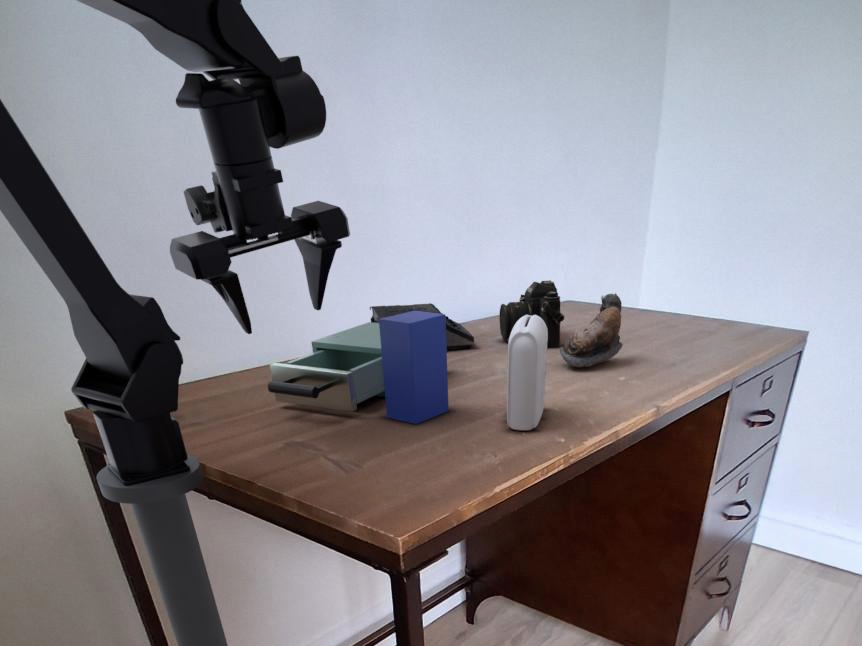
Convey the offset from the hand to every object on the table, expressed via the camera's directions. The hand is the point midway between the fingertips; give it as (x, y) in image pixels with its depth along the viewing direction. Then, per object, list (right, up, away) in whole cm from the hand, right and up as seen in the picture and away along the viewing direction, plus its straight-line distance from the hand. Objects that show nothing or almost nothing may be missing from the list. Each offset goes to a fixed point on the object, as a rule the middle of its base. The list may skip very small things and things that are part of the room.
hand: (283, 320), depth 78 cm
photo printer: (+29, -9, +10) cm, 32 cm away
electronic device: (+12, +17, +46) cm, 51 cm away
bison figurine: (+41, +9, +34) cm, 54 cm away
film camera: (+32, +19, +49) cm, 62 cm away
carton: (+15, -7, +12) cm, 20 cm away
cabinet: (+8, +3, +26) cm, 27 cm away
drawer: (+3, -3, +16) cm, 16 cm away
